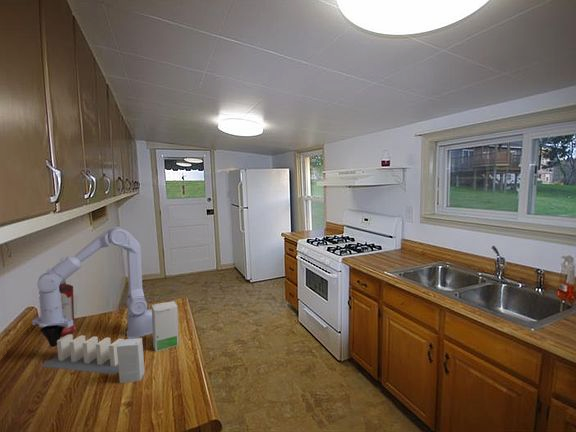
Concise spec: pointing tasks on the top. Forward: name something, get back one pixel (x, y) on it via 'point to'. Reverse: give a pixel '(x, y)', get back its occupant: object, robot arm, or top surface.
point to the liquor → (67, 305)
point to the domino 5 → (114, 352)
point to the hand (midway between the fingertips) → (54, 345)
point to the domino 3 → (90, 349)
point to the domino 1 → (64, 347)
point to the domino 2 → (77, 348)
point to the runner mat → (82, 365)
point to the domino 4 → (103, 351)
